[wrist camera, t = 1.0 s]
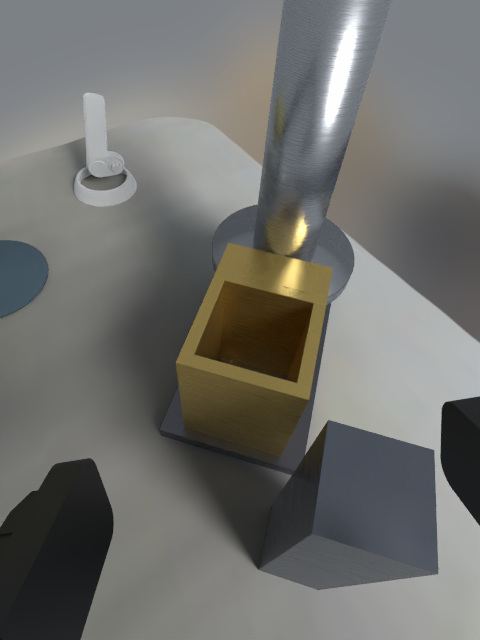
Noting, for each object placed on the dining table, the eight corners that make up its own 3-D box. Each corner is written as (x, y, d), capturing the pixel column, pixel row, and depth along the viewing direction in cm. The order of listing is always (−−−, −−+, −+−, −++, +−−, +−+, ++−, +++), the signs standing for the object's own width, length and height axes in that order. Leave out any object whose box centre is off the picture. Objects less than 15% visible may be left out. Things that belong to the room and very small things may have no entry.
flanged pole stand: (229, 269, 41) (255, -108, 19) (330, 294, 40) (478, -77, 18) (161, 435, 30) (38, -15, 8) (298, 477, 29) (581, 82, 7)
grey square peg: (271, 506, 28) (328, 420, 15) (326, 523, 27) (434, 450, 14) (258, 569, 25) (312, 533, 12) (318, 589, 25) (438, 573, 12)
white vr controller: (125, 110, 50) (137, 97, 44) (131, 206, 53) (144, 207, 47) (62, 103, 46) (65, 88, 41) (73, 206, 50) (78, 206, 44)
